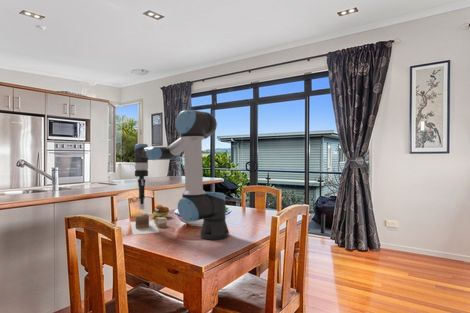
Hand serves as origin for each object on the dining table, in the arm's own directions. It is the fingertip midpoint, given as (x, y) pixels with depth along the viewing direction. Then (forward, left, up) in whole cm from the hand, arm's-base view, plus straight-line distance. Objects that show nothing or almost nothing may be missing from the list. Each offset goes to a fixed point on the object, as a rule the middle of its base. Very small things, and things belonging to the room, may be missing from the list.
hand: (141, 209), depth 178 cm
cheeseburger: (+20, -13, -11) cm, 26 cm away
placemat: (-3, -1, -10) cm, 11 cm away
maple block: (-5, -10, -10) cm, 15 cm away
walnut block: (+1, 0, -6) cm, 6 cm away
